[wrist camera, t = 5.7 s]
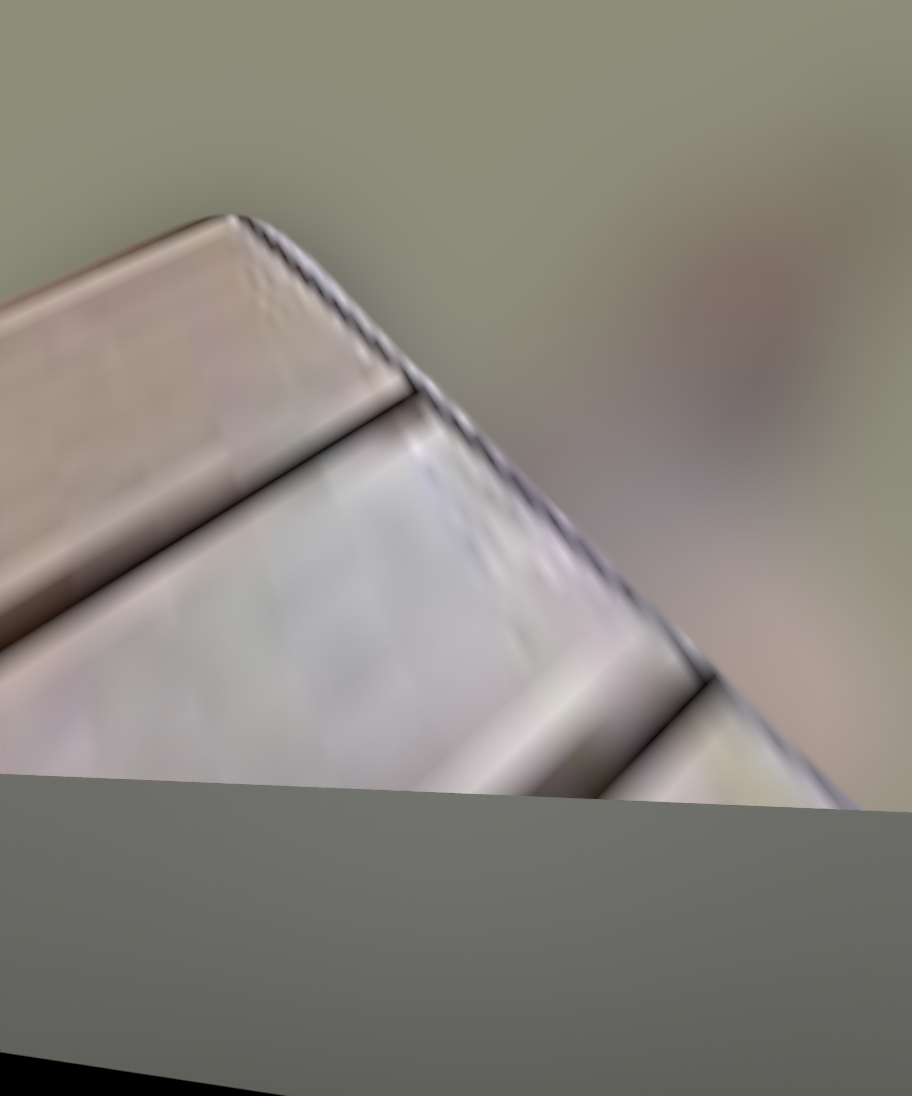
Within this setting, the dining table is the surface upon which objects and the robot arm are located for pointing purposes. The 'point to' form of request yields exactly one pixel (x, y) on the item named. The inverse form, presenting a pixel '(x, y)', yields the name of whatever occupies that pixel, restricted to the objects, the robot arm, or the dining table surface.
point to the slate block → (446, 944)
